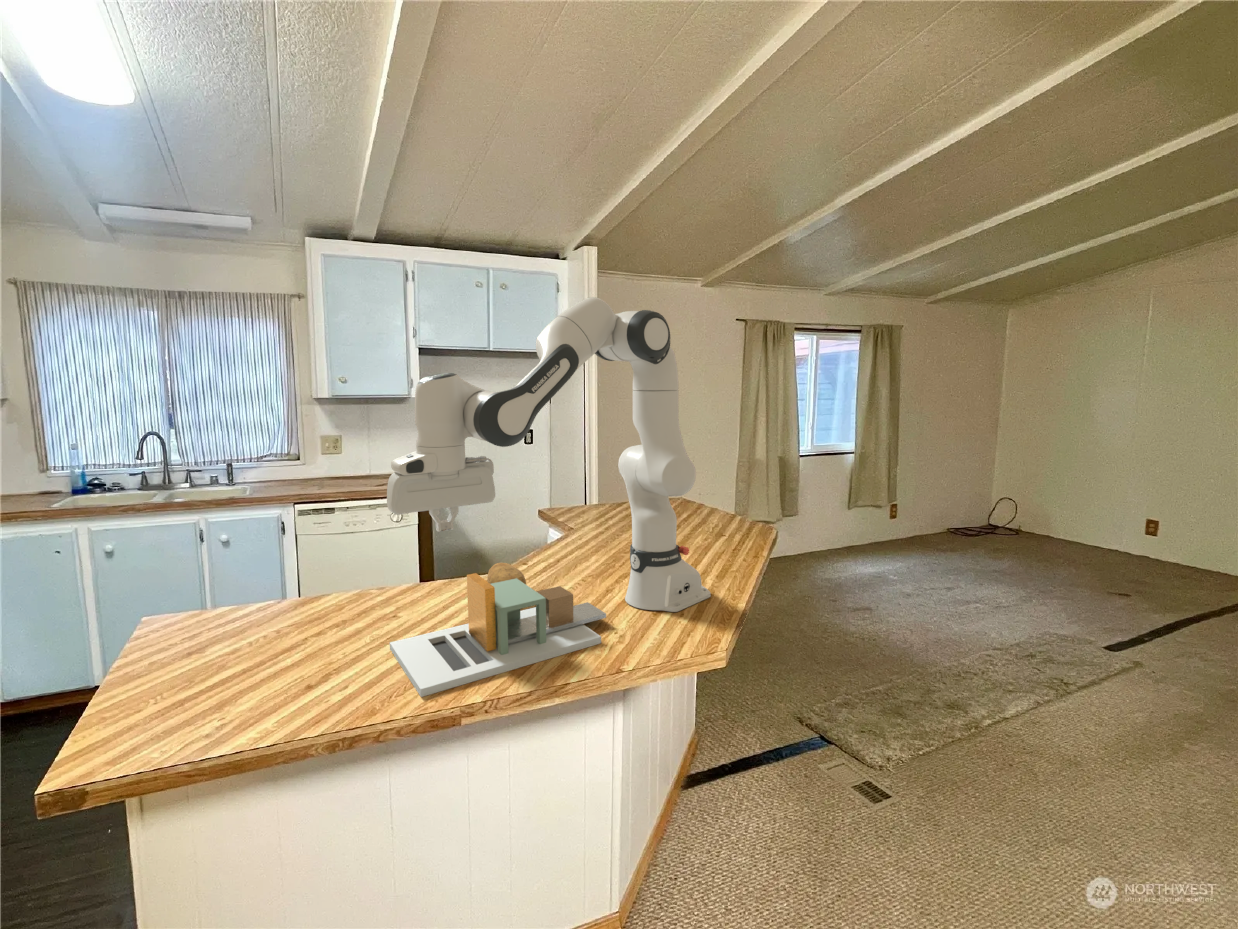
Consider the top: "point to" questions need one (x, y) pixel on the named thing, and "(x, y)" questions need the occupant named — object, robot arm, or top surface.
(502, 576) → the potato
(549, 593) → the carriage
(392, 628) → the top surface
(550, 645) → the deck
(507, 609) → the tunnel
